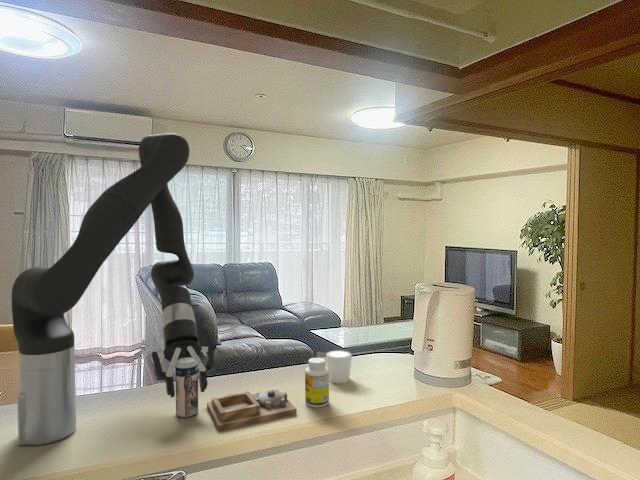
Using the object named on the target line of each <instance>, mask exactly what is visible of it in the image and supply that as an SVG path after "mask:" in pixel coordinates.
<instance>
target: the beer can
mask: <svg viewBox="0 0 640 480" xmlns="http://www.w3.org/2000/svg"><path fill="white" fill-rule="evenodd" d="M174 373H175V415H176V416H179V417H180V418H191V417H192V416H194V415H196V414H197V413H198V412H199V374H198V362H197V361H196V359H195V358H193V357H185V358H180V359H179V360H177V362H176V364H175V371H174Z"/></svg>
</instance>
